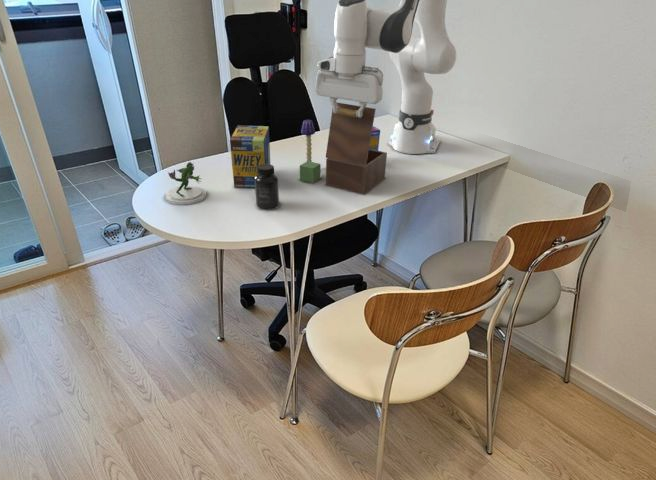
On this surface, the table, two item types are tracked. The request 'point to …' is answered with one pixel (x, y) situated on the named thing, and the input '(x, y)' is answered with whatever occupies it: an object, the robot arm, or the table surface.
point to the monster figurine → (185, 188)
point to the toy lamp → (308, 136)
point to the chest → (356, 173)
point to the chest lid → (350, 134)
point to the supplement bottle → (266, 187)
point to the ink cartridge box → (374, 139)
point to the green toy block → (310, 171)
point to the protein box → (249, 153)
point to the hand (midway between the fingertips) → (347, 115)
